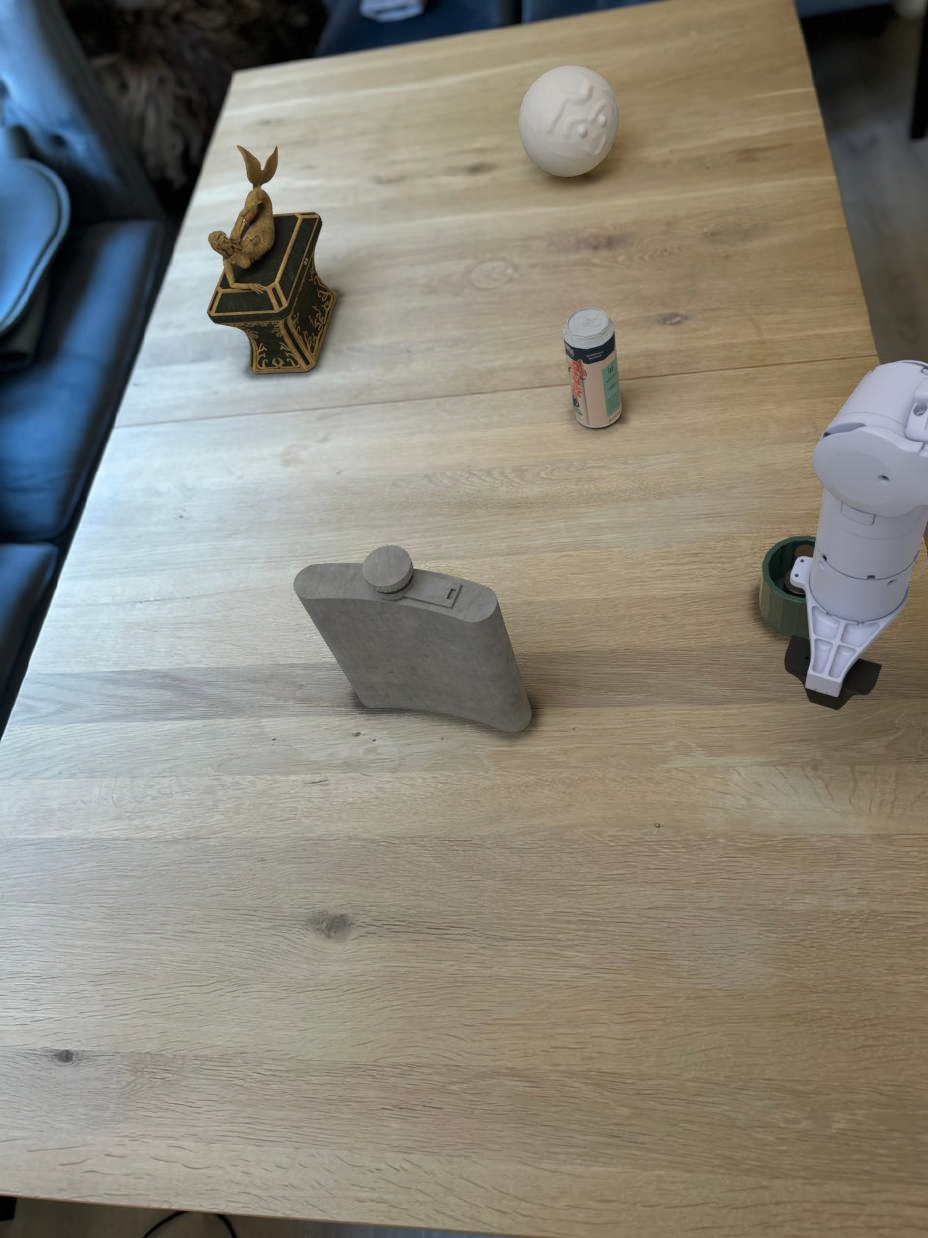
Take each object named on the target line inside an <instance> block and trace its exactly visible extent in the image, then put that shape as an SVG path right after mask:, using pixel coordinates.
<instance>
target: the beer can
mask: <svg viewBox="0 0 928 1238" xmlns="http://www.w3.org/2000/svg"><path fill="white" fill-rule="evenodd" d="M562 337H563V344H564V351H565V358H566V364H567V365H566V366H567V371H568V378H569V385H570V391H571V397H572V402H573V403H572V404H573V410H574V412H573V413H574V417H575V419H576V421H578V423H580V424H581V425H582V426H584V427H587V428H592V429H600V428H604V427H607V426H610V425H612V424H613V423H615V422H616V421H617V420H618V419H619V418H620V416H621V414H622V412H623V407H622V406H623V405H622V397H621V385H620V375H619V364H618V353H617V343H616V342H617V341H616V331H615V323H614V321H613V320H612V319H611V317H610V316H609V315H608V314H607V313H606V312H605V311H604V310H603V309H602V308H598V307H592V306H591V307H590V306H588V307H584V308H581V309H577V310H575V311H574V312H573V313H572V314H570V315H569V316H568V317H567V320H566V322H565V324H564V326H563V329H562Z"/></svg>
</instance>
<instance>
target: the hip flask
mask: <svg viewBox="0 0 928 1238" xmlns="http://www.w3.org/2000/svg"><path fill="white" fill-rule="evenodd" d="M292 588H293V590H294V593H295V594H296V597H297V598H298V600H299V601H300V603H301V604H302V606H303V608H304V610H305V611H306V613H307V614H308V616H309V618H310V619H311V621H312V623H313V624H314V626H315V627H316V629H317V632H319V634H320V636H321V637H322V639H323V641H324V643H325V644H326V646H327V647H328V649H329V650H330V653H331V654H332V656H333V657H334V659H335V661H336V663H337V664H338V666H339V667H340V669H341V671H342V672H343V674H344V677H346V679H347V681H348V683H349V684H350V686H351V687H352V689H353V690H354V692H355V694H356V695H357V697H358V699H359V700H360V702H361V703H362V705H364V706H365V707H366V708H369V709H402V710H406V709H407V710H416V711H425V712H432V713H437V714H443V715H450V716H454V717H458V718H463V719H466V720H470V721H474V722H478V723H480V724H485V725H487V726H490V727H493V728H494V729H497V730H500V731H503V732H505V733H509V734H510V733H511V734H515V733H519V732H522V731H524V730H525V729H526V728H527V727H528V726H530V724H531V721H532V718H533V711H532V708H531V704H530V701H529V698H528V695H527V691H526V688H525V685H524V681H523V678H522V676H521V672H520V669H519V665H518V663H517V658H516V655H515V653H514V649H513V646H512V643H511V639H510V636H509V633H508V630H507V626H506V623H505V620H504V617H503V613H502V609H501V607H500V604H499V600H498V597H497V595H496V592H495V591H494V590H493V589H492V588H490V587H489V586H486V585H484V584H481V583H478V582H475V581H472V580H468V579H464V578H462V577H458V576H453V575H450V574H446V573H440V572H436V571H431V570H425V569H419V568H414V563H413V561H412V558H411V555H410V553H409V552H408V551H407V550H406V549H405V548H403V547H402V546H398V545H394V544H390V545H388V544H387V545H383V546H380V547H378V548H376V549H374V550H373V551H372V552H369V554H368V555H367V556H366V558H365V559H364V561H363V563H362V562H361V563H360V562H329V563H325V562H324V563H314V564H310V565H307V566H305V567H304V568H302V569H301V570H300V571H299V572H298V573H297V574H296V576H295V577H294V579H293V585H292Z"/></svg>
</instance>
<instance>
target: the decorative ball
mask: <svg viewBox="0 0 928 1238" xmlns="http://www.w3.org/2000/svg"><path fill="white" fill-rule="evenodd" d="M619 117H620V116H619V106H618V102H617V99H616V96H615V93H614V91H613V89H612V87H611V85H610V84H609V83H608V81H607V80H606V79H605V78H604V76H602V75H600V74H599V73H597V72H596V71H594V70H592V69H590V68H588V67H584V66H580V65H571V64H568V65H561V66H558V67H554V68H552V69H550V70H548V71H546V72H545V73H543V74H542V75H540V76H539V77H538V78H537V79H536V80H535V81H534V82H533V83H532V85H530V87H529V88H528V89H527V92H526V93H525V95H524V97H523V100H522V102H521V105H520V108H519V112H518V134H519V139H520V142H521V145H522V148H523V150H524V152H525V154H526V155H527V156H528V158H529V159H530V161H531V162H532V163H533V164H534V165H535V166H536V167H538V169H540V170H542V171H544V172H545V173H547V174H550V175H553V176H557V177H562V178H571V177H576V176H580V175H583V174H585V173H588V172H590V171H591V170H593V169H595V168H596V167H598V166H599V164H600V163H602V162H603V160H604V159H605V158H606V157H607V155H608V154H609V152H610V151H611V149H612V147H613V145H614V143H615V141H616V137H617V134H618V129H619V123H620V122H619V120H620V119H619Z"/></svg>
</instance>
